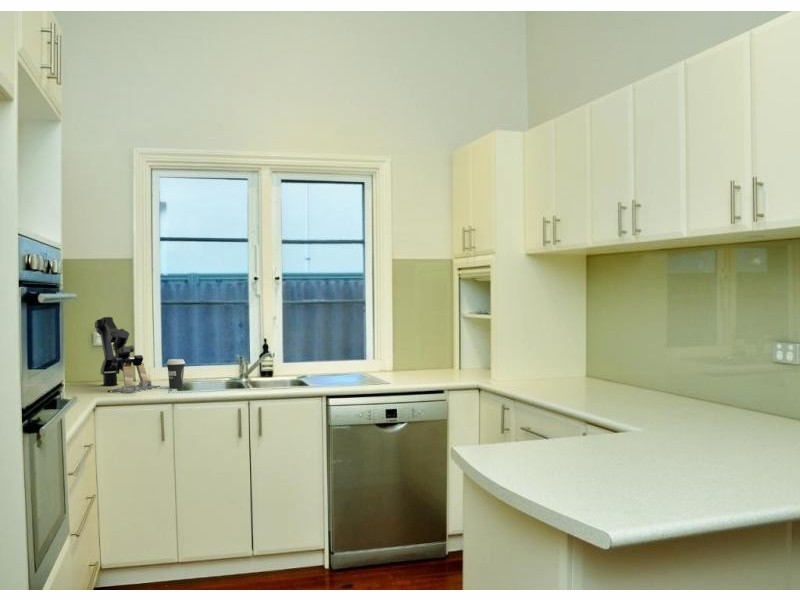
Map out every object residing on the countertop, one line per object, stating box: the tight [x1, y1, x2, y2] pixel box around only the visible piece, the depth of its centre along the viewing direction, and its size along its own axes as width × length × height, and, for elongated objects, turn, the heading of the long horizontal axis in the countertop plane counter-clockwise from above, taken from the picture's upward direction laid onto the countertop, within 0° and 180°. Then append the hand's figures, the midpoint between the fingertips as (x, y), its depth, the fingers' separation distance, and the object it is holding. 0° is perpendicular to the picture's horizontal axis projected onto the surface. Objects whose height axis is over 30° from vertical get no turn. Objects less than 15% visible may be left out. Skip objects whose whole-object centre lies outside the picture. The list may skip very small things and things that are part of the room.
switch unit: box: [106, 380, 161, 394], centre depth 349 cm, size 14×23×3 cm, turn 160°
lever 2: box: [135, 362, 149, 383], centre depth 357 cm, size 2×4×10 cm, turn 160°
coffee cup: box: [166, 358, 186, 390], centre depth 355 cm, size 10×10×15 cm
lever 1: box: [122, 365, 135, 387], centre depth 341 cm, size 2×4×10 cm, turn 129°
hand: (127, 373), depth 343 cm, fingers closed, pressing on lever 1
